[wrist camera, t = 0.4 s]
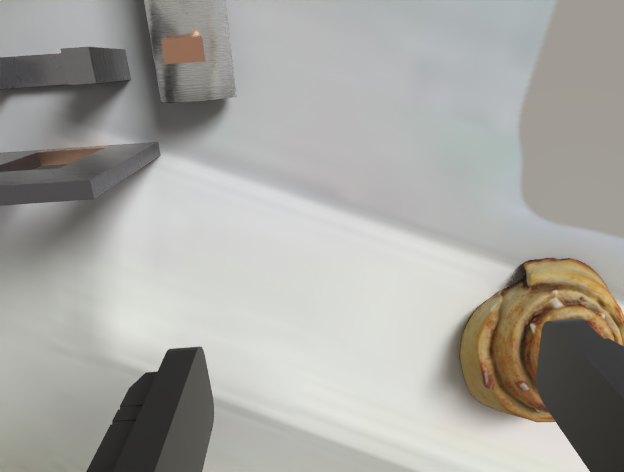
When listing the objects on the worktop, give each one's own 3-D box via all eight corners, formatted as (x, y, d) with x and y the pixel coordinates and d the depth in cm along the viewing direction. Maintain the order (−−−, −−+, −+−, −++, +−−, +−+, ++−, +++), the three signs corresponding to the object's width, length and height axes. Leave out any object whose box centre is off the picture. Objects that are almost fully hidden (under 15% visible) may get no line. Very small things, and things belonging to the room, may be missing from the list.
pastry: (608, 243, 39) (682, 287, 31) (605, 389, 44) (668, 456, 36) (449, 274, 39) (484, 323, 32) (464, 413, 45) (497, 484, 37)
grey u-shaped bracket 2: (-14, 59, 33) (-79, 58, 27) (124, 49, 33) (88, 46, 27) (-5, 89, 33) (-67, 94, 28) (130, 79, 33) (95, 83, 28)
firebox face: (-3, 153, 35) (-147, 196, 24) (158, 142, 35) (89, 180, 24) (1, 166, 35) (-139, 214, 24) (160, 155, 35) (94, 198, 24)
